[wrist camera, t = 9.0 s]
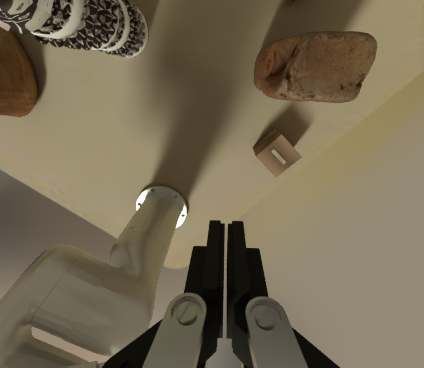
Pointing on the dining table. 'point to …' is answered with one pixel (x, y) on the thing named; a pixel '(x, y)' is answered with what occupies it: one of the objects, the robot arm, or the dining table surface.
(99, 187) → the dining table surface
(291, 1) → the walnut cube
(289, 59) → the block
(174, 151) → the dining table surface
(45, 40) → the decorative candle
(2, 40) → the ceramic vessel
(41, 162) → the dining table surface
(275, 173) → the walnut cube
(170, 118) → the dining table surface
